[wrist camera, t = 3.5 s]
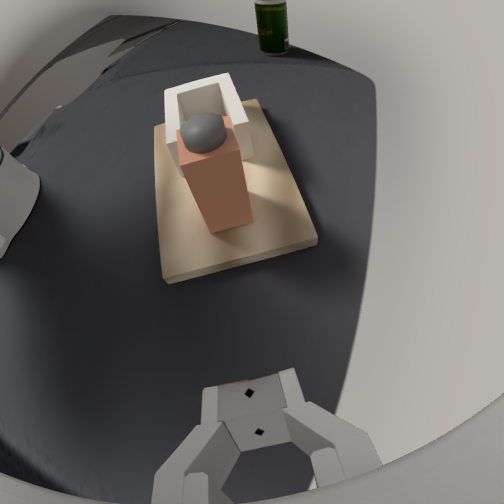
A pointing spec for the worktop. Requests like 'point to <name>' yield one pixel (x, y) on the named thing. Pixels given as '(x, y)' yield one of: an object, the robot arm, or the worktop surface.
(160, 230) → the base board
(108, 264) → the worktop surface
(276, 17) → the beer can
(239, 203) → the plug
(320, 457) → the robot arm
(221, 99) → the socket
